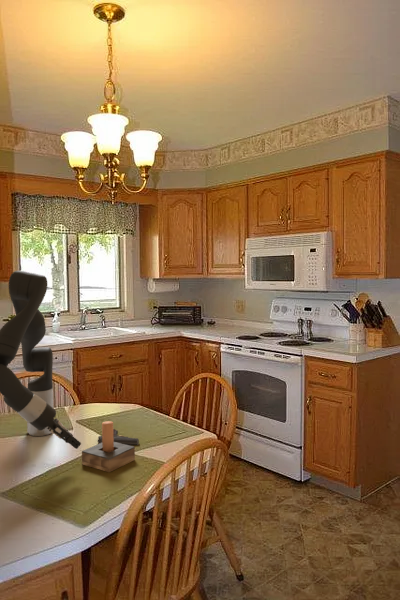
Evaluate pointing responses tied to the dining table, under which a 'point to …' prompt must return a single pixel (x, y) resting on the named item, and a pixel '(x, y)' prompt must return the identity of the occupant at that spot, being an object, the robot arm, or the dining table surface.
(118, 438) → the pistol
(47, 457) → the dining table surface
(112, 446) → the peg
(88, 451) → the socket
